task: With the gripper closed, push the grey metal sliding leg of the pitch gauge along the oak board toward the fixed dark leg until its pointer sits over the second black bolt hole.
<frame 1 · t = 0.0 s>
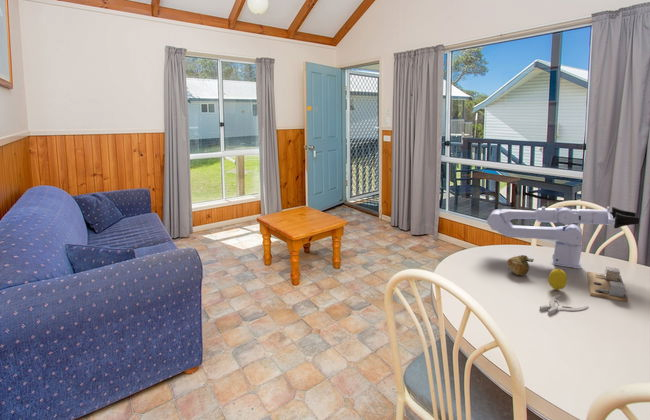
hand: (637, 218, 146), 22 cm above the table, tool horizontal, fingers open, 7 cm apart
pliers: (559, 308, 127), on the table
gauge board: (605, 286, 140), on the table
onion: (517, 274, 152), on the table
sliding leg: (607, 273, 144), point 3 cm above the table, slide at 0.0 cm
fixed leg: (614, 297, 132), resting on gauge board
lemon: (556, 290, 138), on the table
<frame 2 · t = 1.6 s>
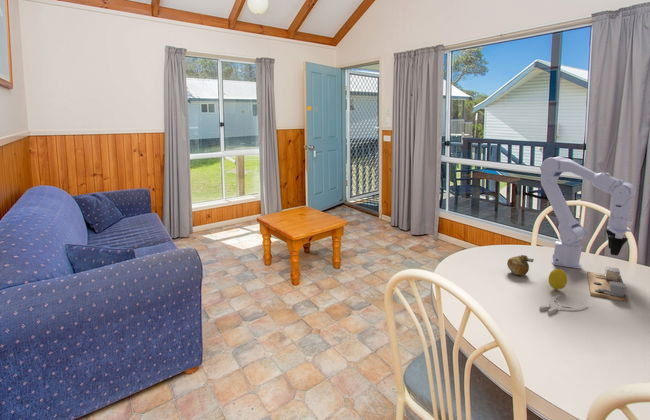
hand: (613, 251, 147), 9 cm above the table, tool pointing down, fingers open, 7 cm apart
nothing on the table moved.
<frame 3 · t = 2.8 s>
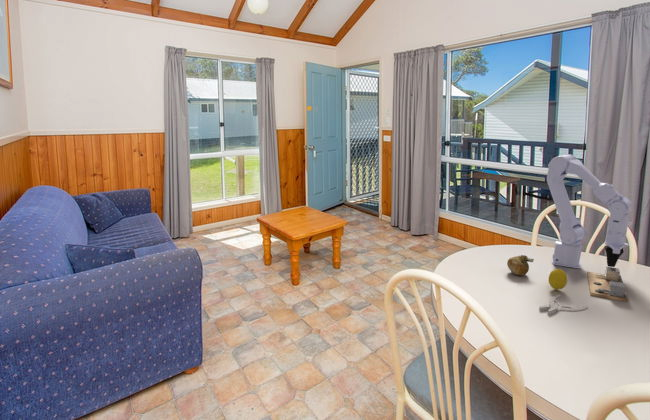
hand: (610, 266, 148), 4 cm above the table, tool pointing down, fingers closed
nothing on the table moved.
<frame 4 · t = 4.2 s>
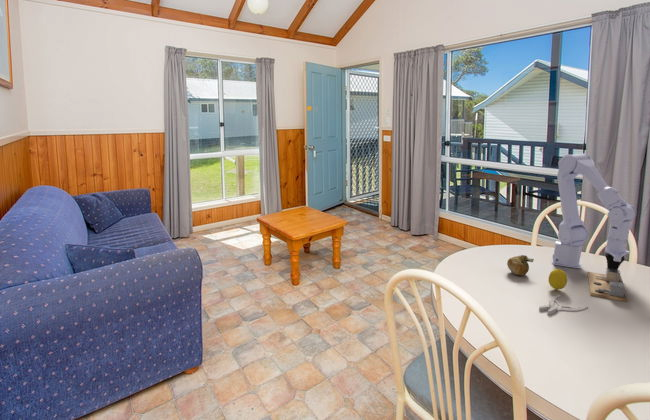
hand: (611, 273, 145), 2 cm above the table, tool pointing down, fingers closed
sliding leg: (607, 274, 143), point 3 cm above the table, slide at 1.3 cm, touching gripper
everything else where it was.
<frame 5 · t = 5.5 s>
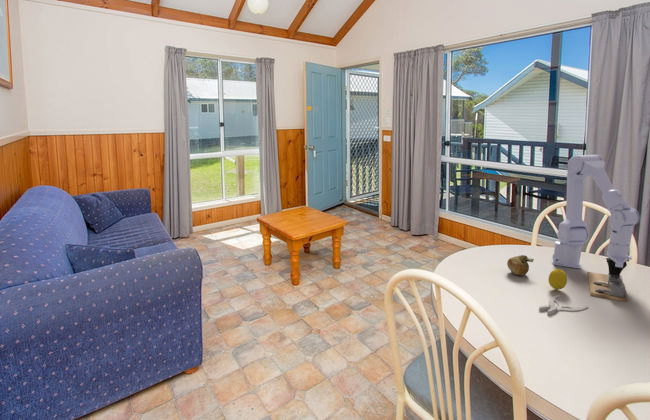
hand: (613, 279, 140), 2 cm above the table, tool pointing down, fingers closed
sliding leg: (609, 280, 138), point 3 cm above the table, slide at 7.2 cm, touching gripper
everything else where it was.
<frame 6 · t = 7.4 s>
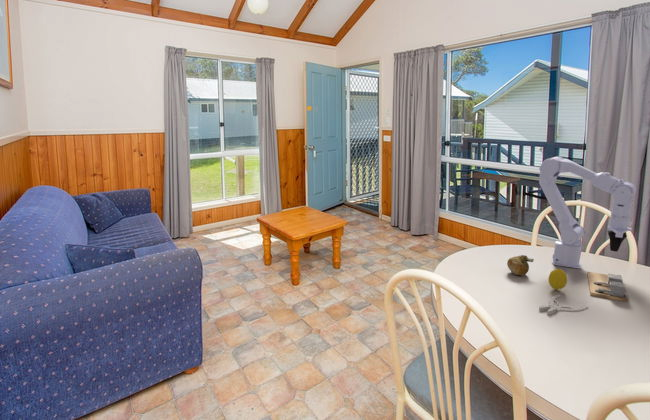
hand: (613, 250, 148), 9 cm above the table, tool pointing down, fingers closed
sliding leg: (609, 280, 138), point 3 cm above the table, slide at 7.2 cm
everything else where it was.
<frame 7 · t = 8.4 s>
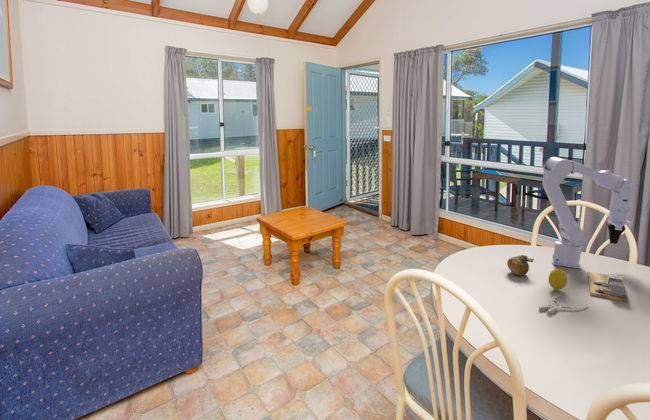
hand: (613, 243, 156), 9 cm above the table, tool pointing down, fingers closed
nothing on the table moved.
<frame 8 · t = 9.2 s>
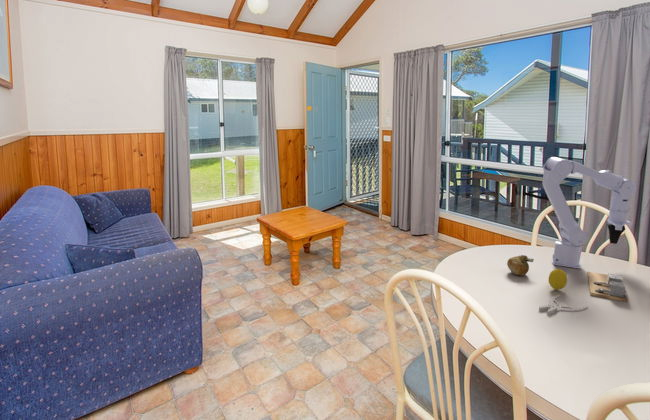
hand: (613, 243, 156), 9 cm above the table, tool pointing down, fingers closed
nothing on the table moved.
at the end: sliding leg slide at 7.2 cm; sliding leg 0.2 cm from the target spot, resting on gauge board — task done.
